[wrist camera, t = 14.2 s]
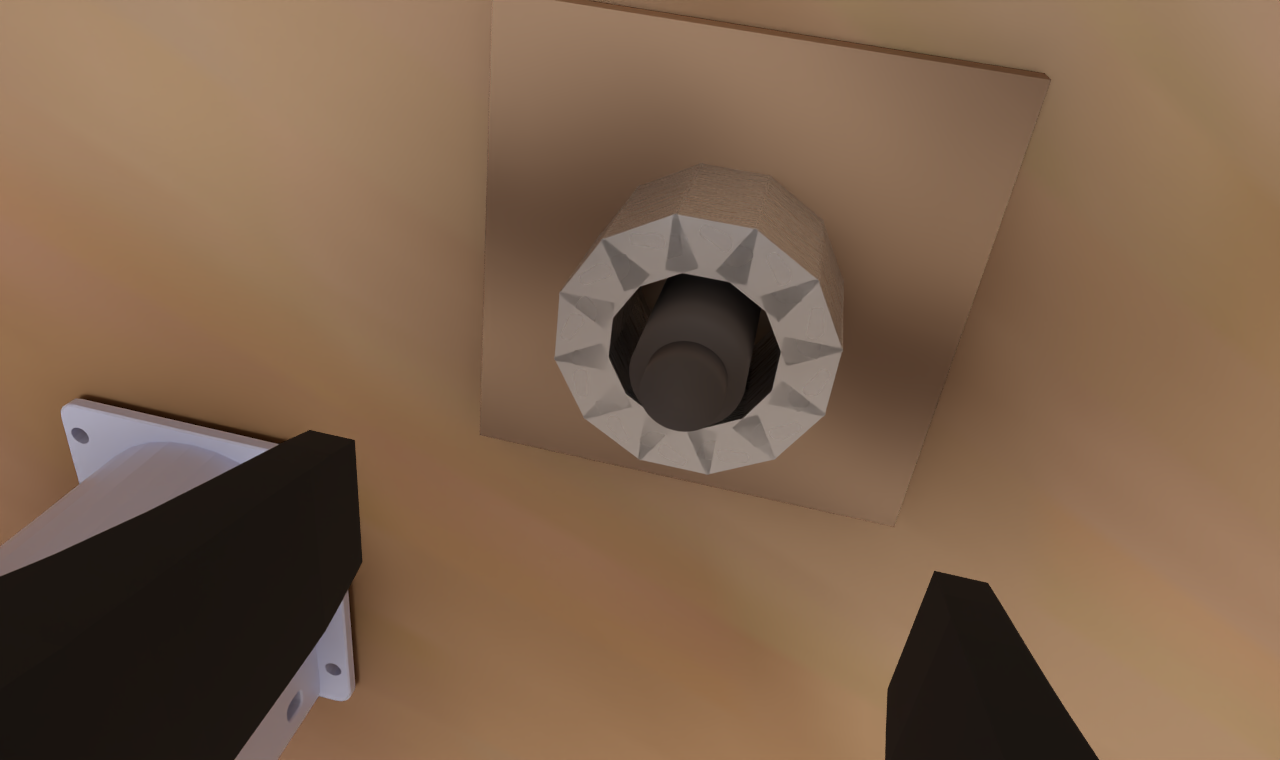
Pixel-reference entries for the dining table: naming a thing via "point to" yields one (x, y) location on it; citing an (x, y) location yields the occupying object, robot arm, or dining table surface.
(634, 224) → the tube
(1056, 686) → the dining table surface
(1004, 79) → the shaft stand
